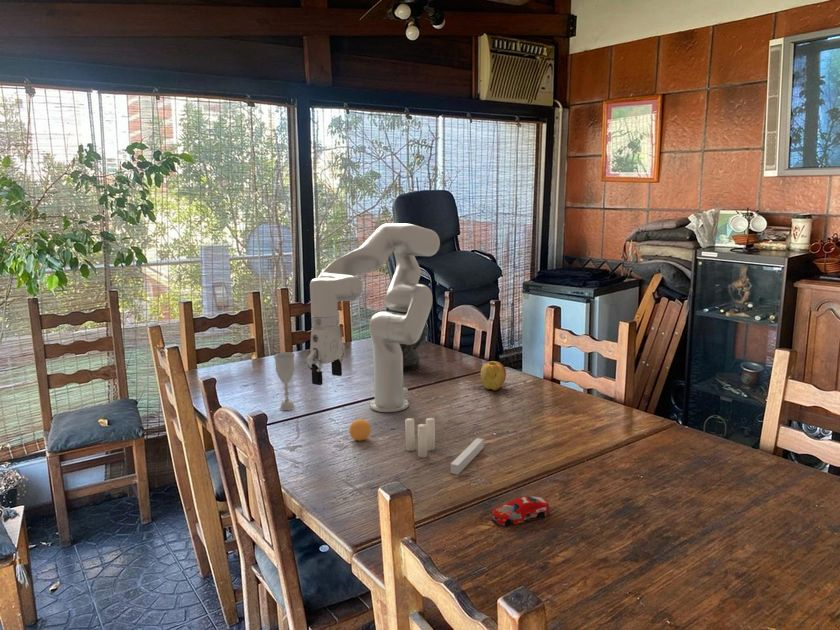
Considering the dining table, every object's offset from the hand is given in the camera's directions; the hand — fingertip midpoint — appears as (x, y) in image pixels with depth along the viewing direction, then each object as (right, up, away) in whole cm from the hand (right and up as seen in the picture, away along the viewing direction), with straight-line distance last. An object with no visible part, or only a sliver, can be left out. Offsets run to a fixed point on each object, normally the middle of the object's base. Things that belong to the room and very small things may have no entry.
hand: (327, 379), depth 179 cm
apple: (+53, -8, +43) cm, 68 cm away
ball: (+10, -14, -2) cm, 17 cm away
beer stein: (+20, -2, +73) cm, 75 cm away
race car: (+48, -26, -44) cm, 70 cm away
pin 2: (+30, -18, -8) cm, 36 cm away
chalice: (-17, -12, +26) cm, 33 cm away
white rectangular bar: (+39, -19, -15) cm, 46 cm away
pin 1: (+27, -19, -12) cm, 36 cm away
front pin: (+24, -18, -8) cm, 31 cm away
